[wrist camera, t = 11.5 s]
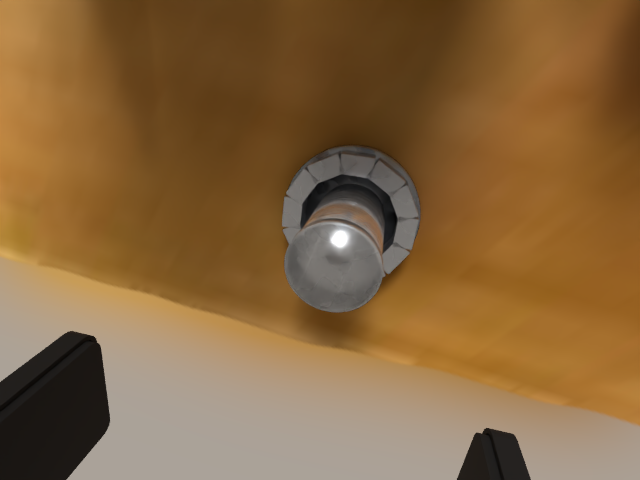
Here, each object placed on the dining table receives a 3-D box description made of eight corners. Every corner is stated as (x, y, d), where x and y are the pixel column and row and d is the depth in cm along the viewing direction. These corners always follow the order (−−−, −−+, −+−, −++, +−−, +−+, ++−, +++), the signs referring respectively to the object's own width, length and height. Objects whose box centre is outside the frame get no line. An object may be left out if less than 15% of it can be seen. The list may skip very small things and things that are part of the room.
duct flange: (263, 219, 28) (252, 230, 25) (340, 114, 24) (335, 117, 22) (360, 294, 28) (358, 311, 26) (449, 204, 25) (454, 215, 23)
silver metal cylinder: (320, 176, 25) (288, 214, 17) (393, 188, 24) (391, 232, 17) (312, 242, 27) (280, 301, 19) (379, 255, 26) (373, 321, 19)
